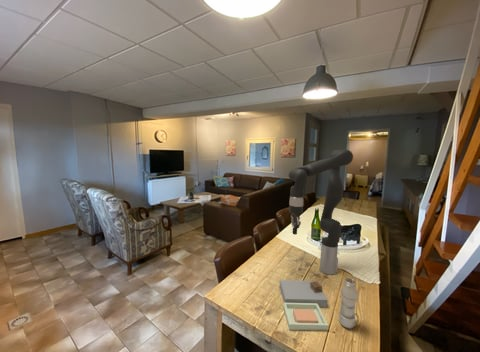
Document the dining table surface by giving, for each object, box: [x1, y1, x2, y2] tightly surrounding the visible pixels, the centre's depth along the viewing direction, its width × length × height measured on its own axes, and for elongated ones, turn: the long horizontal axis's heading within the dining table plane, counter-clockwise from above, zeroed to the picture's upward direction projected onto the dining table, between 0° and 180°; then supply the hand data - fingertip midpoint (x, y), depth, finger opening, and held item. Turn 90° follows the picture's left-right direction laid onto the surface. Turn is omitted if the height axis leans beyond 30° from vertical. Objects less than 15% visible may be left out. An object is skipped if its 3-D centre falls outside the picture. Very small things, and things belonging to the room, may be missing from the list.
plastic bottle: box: [338, 277, 359, 329], centre depth 84 cm, size 6×7×20 cm
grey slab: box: [279, 279, 329, 308], centre depth 101 cm, size 20×14×4 cm
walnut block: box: [310, 280, 323, 293], centre depth 100 cm, size 4×4×3 cm
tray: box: [282, 301, 329, 332], centre depth 88 cm, size 16×12×2 cm
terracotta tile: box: [293, 309, 318, 323], centre depth 86 cm, size 9×6×3 cm, turn 90°
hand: (294, 233), depth 113 cm, fingers closed
